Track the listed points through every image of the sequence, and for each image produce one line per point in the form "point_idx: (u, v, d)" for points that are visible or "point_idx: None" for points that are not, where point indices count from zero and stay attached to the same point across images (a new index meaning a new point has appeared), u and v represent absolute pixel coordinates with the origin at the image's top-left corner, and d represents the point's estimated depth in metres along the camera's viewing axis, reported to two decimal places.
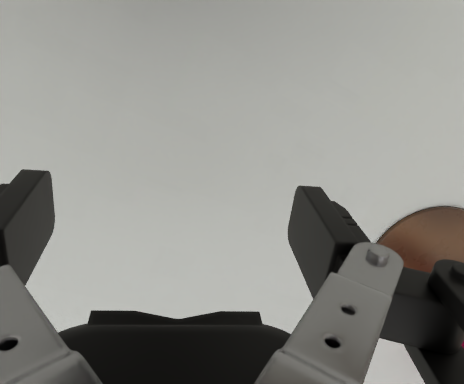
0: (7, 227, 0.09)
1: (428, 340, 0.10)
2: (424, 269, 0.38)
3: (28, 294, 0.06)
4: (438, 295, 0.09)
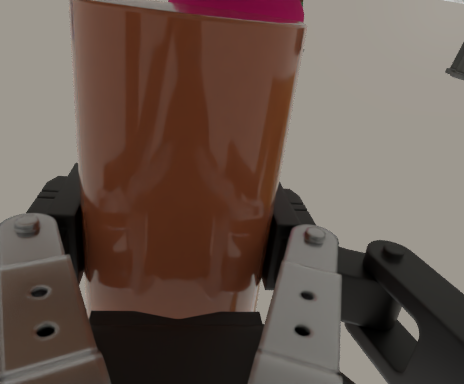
0: (76, 214, 0.10)
1: (362, 317, 0.10)
2: None
3: (77, 286, 0.07)
4: (371, 274, 0.10)
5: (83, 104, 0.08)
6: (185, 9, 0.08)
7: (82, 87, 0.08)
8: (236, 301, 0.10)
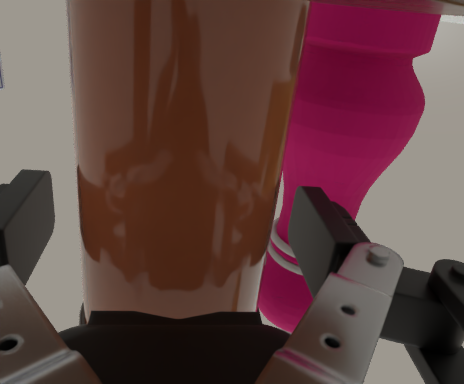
0: (7, 227, 0.09)
1: (428, 340, 0.10)
2: None
3: (28, 294, 0.06)
4: (438, 295, 0.09)
5: (80, 80, 0.08)
6: None
7: (78, 62, 0.08)
8: (239, 289, 0.10)
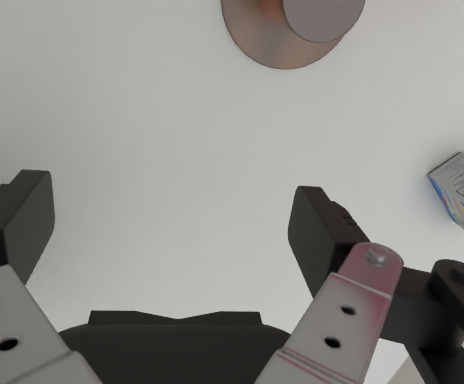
0: (7, 227, 0.09)
1: (428, 340, 0.10)
2: None
3: (28, 294, 0.06)
4: (438, 295, 0.09)
5: (271, 21, 0.33)
6: None
7: (272, 22, 0.34)
8: None
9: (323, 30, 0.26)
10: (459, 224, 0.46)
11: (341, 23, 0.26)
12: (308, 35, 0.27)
